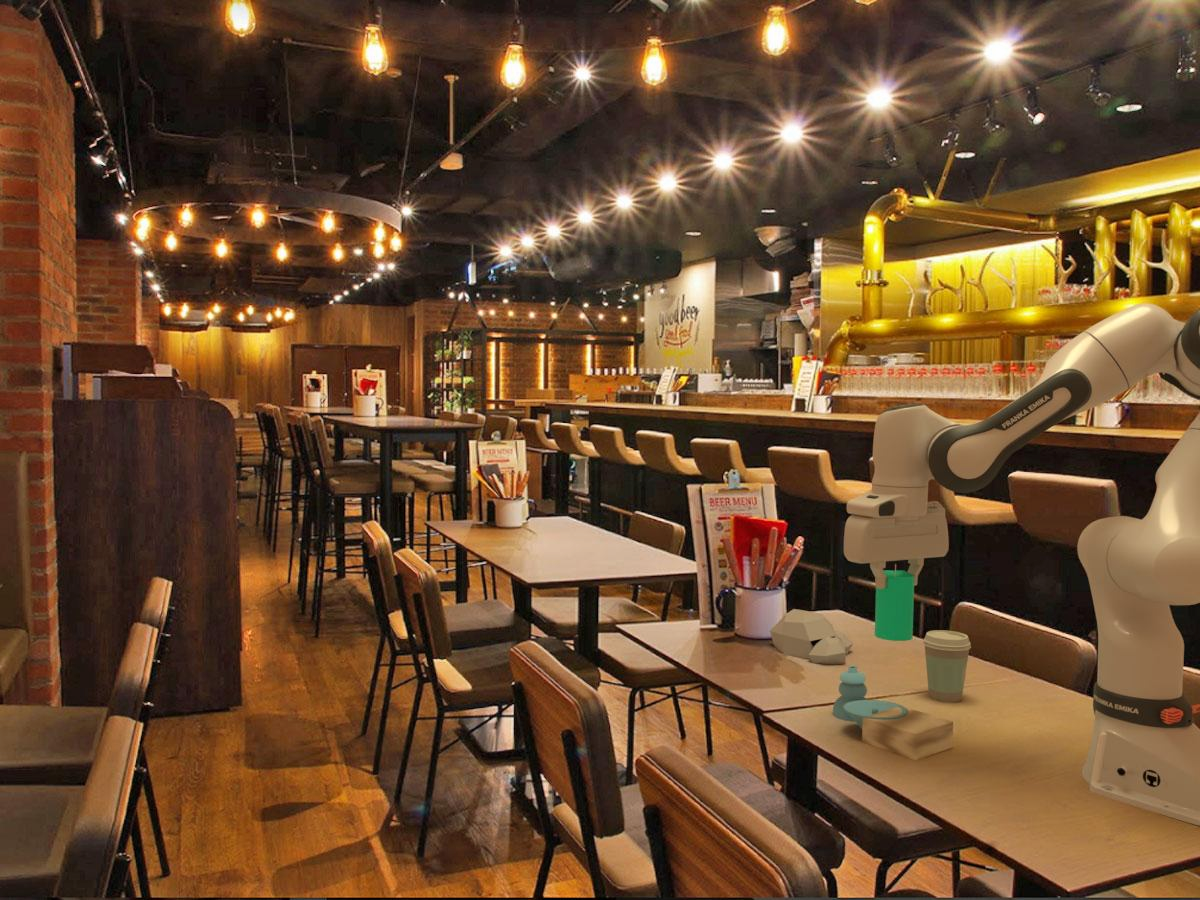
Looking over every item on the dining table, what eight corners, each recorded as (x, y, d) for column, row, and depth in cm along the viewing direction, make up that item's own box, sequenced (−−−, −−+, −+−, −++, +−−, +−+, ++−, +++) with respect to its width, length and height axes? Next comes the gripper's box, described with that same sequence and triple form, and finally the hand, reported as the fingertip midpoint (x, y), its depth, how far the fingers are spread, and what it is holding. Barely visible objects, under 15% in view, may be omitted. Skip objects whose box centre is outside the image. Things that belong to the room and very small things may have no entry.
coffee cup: (973, 706, 182) (975, 641, 182) (924, 703, 184) (926, 638, 183) (965, 692, 191) (967, 630, 190) (919, 689, 193) (920, 628, 192)
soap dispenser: (919, 743, 161) (919, 688, 161) (857, 747, 160) (857, 691, 159) (873, 711, 179) (873, 660, 179) (817, 713, 177) (817, 663, 177)
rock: (851, 647, 225) (852, 605, 225) (856, 671, 206) (857, 624, 205) (770, 642, 229) (771, 601, 228) (767, 665, 209) (768, 620, 209)
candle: (885, 630, 168) (887, 560, 168) (918, 636, 164) (921, 564, 164) (868, 636, 164) (870, 564, 163) (902, 643, 160) (904, 568, 159)
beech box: (952, 752, 160) (953, 721, 159) (914, 766, 153) (915, 734, 153) (899, 734, 168) (900, 705, 167) (861, 747, 161) (862, 717, 161)
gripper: (930, 498, 170) (927, 578, 171) (838, 503, 161) (836, 588, 161) (959, 502, 165) (956, 585, 166) (866, 507, 155) (863, 595, 156)
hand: (896, 586), depth 163 cm, fingers closed on candle, 5 cm apart
